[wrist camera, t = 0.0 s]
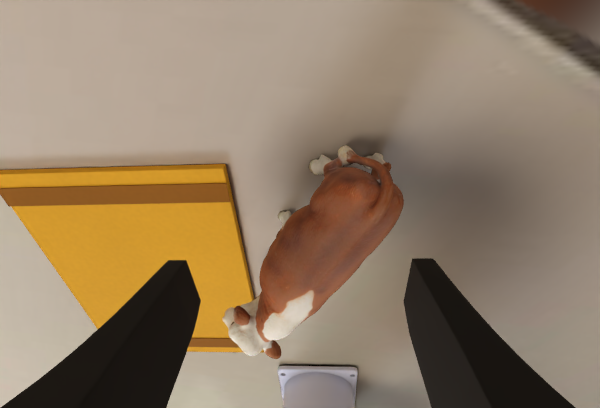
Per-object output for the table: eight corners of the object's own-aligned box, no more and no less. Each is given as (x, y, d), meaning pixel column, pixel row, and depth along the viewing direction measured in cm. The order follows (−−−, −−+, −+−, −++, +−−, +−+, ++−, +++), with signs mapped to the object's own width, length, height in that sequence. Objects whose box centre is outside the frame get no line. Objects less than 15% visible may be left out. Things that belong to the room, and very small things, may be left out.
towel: (264, 346, 31) (263, 353, 31) (115, 344, 32) (112, 351, 32) (225, 163, 20) (222, 169, 19) (-5, 169, 21) (-14, 175, 20)
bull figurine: (231, 250, 24) (198, 356, 17) (349, 105, 17) (369, 187, 11) (281, 275, 25) (267, 383, 19) (408, 149, 19) (458, 247, 12)
